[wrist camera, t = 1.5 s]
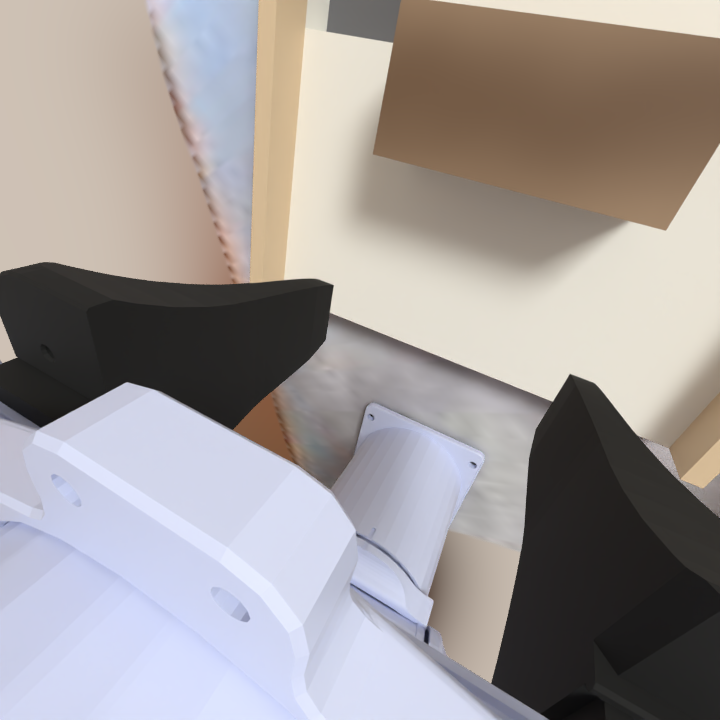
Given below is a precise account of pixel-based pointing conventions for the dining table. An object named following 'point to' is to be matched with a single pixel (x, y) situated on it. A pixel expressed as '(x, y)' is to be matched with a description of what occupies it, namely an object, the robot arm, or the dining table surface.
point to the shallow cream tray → (484, 233)
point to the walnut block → (553, 106)
